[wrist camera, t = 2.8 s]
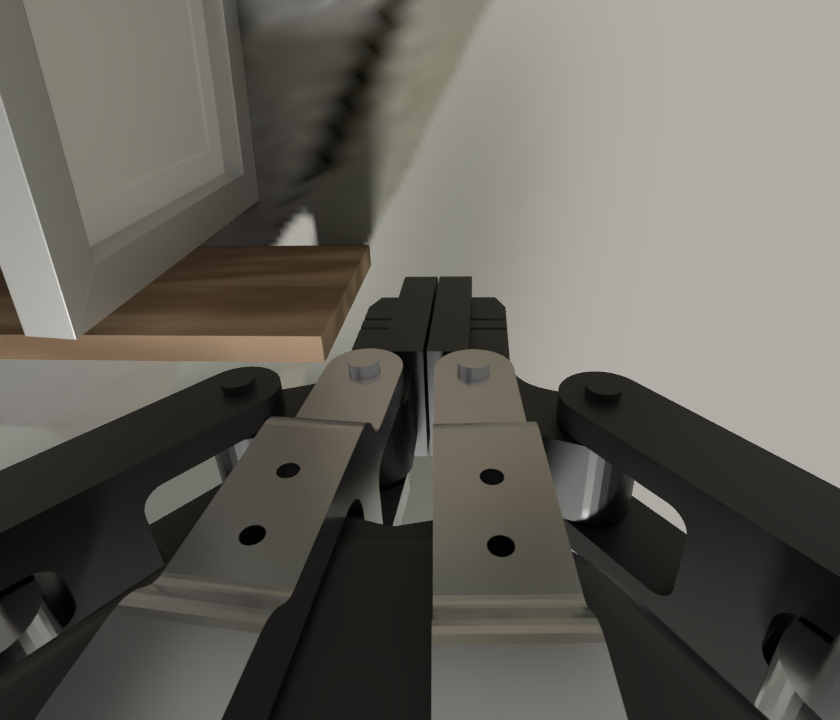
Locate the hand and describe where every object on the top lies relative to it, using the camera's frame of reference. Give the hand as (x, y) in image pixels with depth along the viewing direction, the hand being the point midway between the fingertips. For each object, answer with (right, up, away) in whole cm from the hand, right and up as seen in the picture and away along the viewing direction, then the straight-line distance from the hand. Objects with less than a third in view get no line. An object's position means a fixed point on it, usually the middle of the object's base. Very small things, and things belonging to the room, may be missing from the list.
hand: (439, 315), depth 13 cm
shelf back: (-18, +7, +29) cm, 35 cm away
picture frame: (-13, +17, +23) cm, 31 cm away
